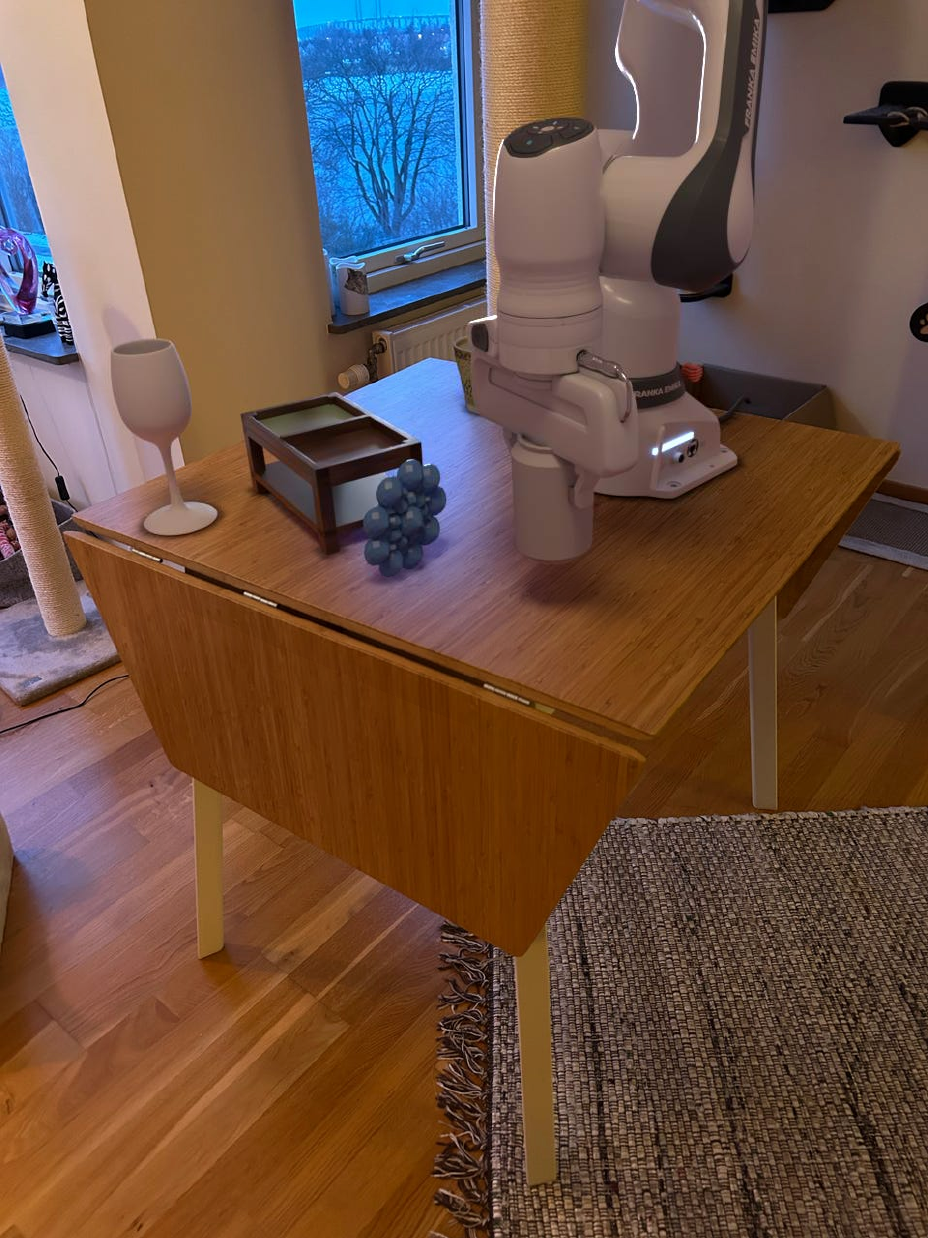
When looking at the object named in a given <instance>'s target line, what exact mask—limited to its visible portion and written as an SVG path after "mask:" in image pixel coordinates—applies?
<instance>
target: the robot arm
mask: <svg viewBox="0 0 928 1238" xmlns="http://www.w3.org/2000/svg"><path fill="white" fill-rule="evenodd" d="M768 12H769V0H624V3H623V8H622V12H621V13H622V14H621V19H620V22H619V23H620V24H619V28H618V33H617V39H616V45H615V60H616V63H617V67H618V69H619V70H620V72H621V74H622V75H623V76H624V77H625V78H626V80H628V82H629V83H630V84H631V85H633V88H634V92H635V97H636V105H637V107H636V109H637V113H636V116H637V117H636V118H637V119H636V127H635V130H628V129H627V130H626V129H612V128H611V129H609V128H597V126H596V125H595V124H594V123H593V122H592V121H590V120H588V119H584V118H580V117H576V116H575V117H572V116H563V117H562V116H561V117H560V116H559V117H550V118H544V119H542V120H538V121H532V122H528V123H526V124H523V125H521V126H518V127H517V128H515V129H514V130H512V131H511V132H510V133H509V134H507V135H506V136H505V137H504V138H503V139H502V141H501V143H500V145H499V150H498V153H497V160H496V167H495V173H494V174H495V175H494V184H493V185H494V186H493V205H492V206H493V210H492V211H493V212H492V213H493V214H492V215H493V216H492V220H493V221H492V222H493V250H494V251H493V252H494V256H495V259H496V262H497V266H498V269H499V271H498V272H499V286H498V293H497V296H496V302H495V304H496V314H494V315H489V316H487V317H483V318H480V319H476V320H473V321H470V322H468V323H467V325H466V336H467V339H468V343H469V345H470V346H471V347H473V348H474V349H473V350H472V353H471V380H472V391H473V399H474V403H475V406H476V408H477V410H478V412H479V414H480V415H479V414H478V415H479V416H480V417H481V418H483V419H485V420H487V421H490V422H491V423H493V424H495V425H497V426H500V427H501V428H502V435H503V439H504V441H505V444H506V446H507V449H508V451H509V454H510V455H511V450H512V448H513V446H514V445H515V444H516V443H517V442H518V437H517V435H518V434H519V433H522V434H523V438H525V439H527V440H529V441H531V442H532V443H534V444H536V445H538V446H541V447H550V448H551V449H552V451H551V452H552V453H554V454H556V455H558V456H560V457H561V458H563V459H565V460H567V461H569V462H571V463H573V464H575V473H576V474H577V475H579V478H578V480H577V482H576V485H571V486H568V494H569V497H568V501H569V503H571V504H573V505H574V506H576V507H578V508H580V509H582V508H585V507H588V506H590V505H592V503H593V504H594V501H595V500H594V499H595V493H598V494H603V495H609V496H618V497H651V498H658V499H665V500H667V499H668V500H669V499H670V500H671V499H675V498H678V497H680V496H682V495H684V494H685V493H687V492H689V491H691V490H693V489H694V488H696V487H698V486H701V485H702V484H704V483H706V482H708V481H709V480H711V479H713V478H715V477H717V476H719V475H720V474H722V473H724V472H726V471H728V470H730V469H732V468H733V467H736V466H737V465H738V456H737V454H736V453H735V452H734V451H733V450H732V449H730V448H729V447H727V445H726V446H725V445H724V444H722V443H721V423H723V422H726V420H728V419H729V418H731V417H732V416H733V415H734V414H735V413H736V412H737V411H738V410H739V409H740V408H741V406H742V405H743V404H744V403H745V404H746V405H750V404H753V403H752V399H751V398H750V397H749V396H748V395H743V396H741V397H740V398H738V400H737V401H736V402H735V404H734V405H733V406H732V407H731V408H730V409H729V410H728V411H726V412H725V413H724V414H722V415H719V416H717V415H716V413H714V412H713V411H712V410H710V409H709V408H708V407H707V406H705V405H704V404H703V403H701V401H699V400H697V398H695V397H693V395H691V394H690V393H689V392H688V391H686V385H685V382H684V380H689V381H690V382H691V383H696V382H699V381H700V380H701V377H703V375H702V374H703V367H702V366H701V365H699V364H693V363H692V362H689V361H688V362H685V363H684V364H680V362H679V361H678V351H679V350H678V349H679V339H680V328H681V327H680V326H681V313H682V301H681V297H680V294H679V292H678V290H682V291H686V292H690V293H691V292H692V293H696V294H701V293H704V292H706V291H708V290H710V289H711V288H713V287H715V286H716V285H718V284H719V283H721V282H722V281H724V280H725V279H726V278H728V277H729V276H730V275H731V274H732V273H734V272H735V271H736V270H737V269H739V267H740V266H741V265H742V264H743V263H744V261H745V260H746V258H747V255H748V252H749V249H750V246H751V243H752V242H751V241H752V237H753V232H754V223H755V222H754V220H755V197H756V195H755V191H756V189H755V188H756V185H755V184H756V182H755V179H756V177H755V174H756V173H755V172H756V152H757V141H758V129H759V118H760V110H761V98H762V87H763V80H764V79H763V78H764V77H763V76H764V68H765V67H764V65H765V54H766V46H767V45H766V43H767V30H768V16H769V15H768V14H769V13H768Z"/></svg>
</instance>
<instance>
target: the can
mask: <svg viewBox="0 0 928 1238" xmlns="http://www.w3.org/2000/svg"><path fill="white" fill-rule="evenodd" d="M517 437H518V442H517V443H516V444H515V445H514V446H513V448H512V450H511V454H510V457H511V459H510V460H511V480H512V481H511V484H512V485H511V486H512V509H513V513H512V514H513V534H514V536H513V537H514V538H513V539H514V546H515V548H516V549H517V550H518V552H519V553H521V554H522V555H524V556H525V557H526V558H527V559H529V560H530V561H532V562H535V563H539V564H544V565H561V564H566V563H570V562H573V561H575V560H577V559H578V558H580V557H581V556H582V555H583V554H585V553H586V552H587V551H588V550H589V549H590V548H591V546H592V544H593V542H594V541H593V539H594V538H593V536H594V535H593V534H594V533H593V531H594V502H593V503H592V505H590V506H588V507H585V508H582V509H580V508H578V507H576V506H574V505H573V504H571V503H569V501H568V497H569V494H568V486H571V485H576V482H577V480H578V478H579V475H577V474H576V473H575V464H573V463H571V462H569V461H567V460H565V459H563V458H561V457H560V456H558V455H556V454H554V453H552V452H551V451H552V449H551V448H550V447H541V446H538V445H536V444H534V443H532V442H531V441H529V440H527V439H525V438H523V434H522V433H519V434H518V435H517Z"/></svg>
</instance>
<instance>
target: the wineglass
mask: <svg viewBox="0 0 928 1238" xmlns="http://www.w3.org/2000/svg"><path fill="white" fill-rule="evenodd" d="M110 378H111V386H112V392H113V398H114V401H115V405H116V408H117V411H118V414H119V416H120V419H121V421H122V423H123V424H124V425H125V427H126V428H127V429H128V430H129V431H130V432H131V433H132V434H134V435H135V436H136V437H138V438H139V439H141V440H143V441H145V442H147V443H150V444H153V445H154V446H156V447H157V449H158V450H159V453H160V455H161V459H162V461H163V465H164V469H165V473H166V478H167V483H168V489H169V495H170V504H167V505H165V506H162V507H160V508H157V509H156V510H154V511H152V512H151V513H150V514H149V515H148V516H147V517H145V519H144V521H143V526H144V529H145V530H146V531H147V532H149V533H151V534H155V535H159V536H179V535H187V534H190V533H194V532H197V531H200V530H202V529H205V528H206V527H208V526H210V525H211V524H212V523H214V522H215V521H216V519H217V518H218V511H217V509H215V508H214V507H213V506H212V505H210V504H207V503H204V502H198V501H184V500H183V497H182V494H181V491H180V488H179V484H178V481H177V477H176V472H175V468H174V463H173V457H172V444H173V442H174V441H175V440H176V439H178V438H179V437H180V436H181V435H182V434H183V433H184V431H185V430H186V428H187V427H188V425H189V423H190V421H191V418H192V413H193V401H192V400H193V399H192V393H191V387H190V384H189V380H188V377H187V374H186V369H185V367H184V365H183V363H182V360H181V357H180V355H179V353H178V351H177V348H176V346H175V345H174V343H173V342H172V340H169V339H165V338H156V337H155V338H154V337H153V338H152V337H151V338H139V339H132V340H129V341H125V342H122V343H119V344H117V345H115V346H113V347H112V348H111V350H110Z"/></svg>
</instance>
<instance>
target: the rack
mask: <svg viewBox="0 0 928 1238" xmlns="http://www.w3.org/2000/svg"><path fill="white" fill-rule="evenodd" d="M239 415H240V421H241V425H242V432H243V439H244V443H245V448H246V454H247V460H248V465H249V466H248V467H249V471H250V476H251V477H250V478H251V483H252V488H253V491H254V492H255V493H257V494H258V495H259V494H263V493H267V492H269V493H271V494H272V495H273V496H274V497H275V498H277V499H278V500H279V501H280V502H281V503H282V504H284V505H285V506H286V507H287V508H288V509H289V510H290V511H292V513H294V514H295V515H296V516H298V517H299V518H300V519H301V521H303V522H304V523H305V524H307V526H309V527H310V528H311V529H312V530H313V531H315V533H317V534H318V540H319V548H320V551H321V552H322V553H324V554H325V555H326V556H328V555H331V554H335V553H338V552H340V544H339V536H340V535H343V534H345V533H349V532H353V531H355V530H359V529H362V528H363V521H364V516H365V515H366V514H367V512H368V511H369V510H370V509H372V508H373V507H376V506H377V505H378V504H379V503H378V501H377V498H376V491H377V487H378V485H379V484H380V482H381V481H382V480H383V479H385V478H386V477H389V475H387V474H386V473H387V472H391V471H394V470H398V469H399V468H400V466H401V465H402V464H403V463H404V462H406V461H407V460H412V459H414V460H416V461H418V462H419V463H420V464H421V466H422V467H423V466H424V459H423V446H422V441H421V440H419V439H417V438H416V437H414V436H412V435H410V434H408V432H405V431H403V430H402V429H400V428H398V427H396V426H394V425H393V424H391V423H390V422H388V421H387V420H384V418H381V417H379V416H378V415H376V414H374V413H372V412H371V411H369V410H367V409H366V408H364V407H362V406H360V404H359V405H358V404H357V403H355V402H354V401H352V400H350V399H349V398H346V397H345V396H343V395H341V394H340V393H338V392H337V391H334V392H329V393H326V394H321V395H317V396H312V397H308V398H304V399H299V400H295V401H294V400H293V401H290V402H286V403H281V404H277V405H273V406H269V407H264V408H260V409H256V410H251V411H245V412H242V413H240V414H239ZM264 450H266V451H267V452H268V453H269V454H271V455H273V457H275V458H276V459H277V461H274V462H270V463H266V460H265V455H264Z"/></svg>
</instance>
